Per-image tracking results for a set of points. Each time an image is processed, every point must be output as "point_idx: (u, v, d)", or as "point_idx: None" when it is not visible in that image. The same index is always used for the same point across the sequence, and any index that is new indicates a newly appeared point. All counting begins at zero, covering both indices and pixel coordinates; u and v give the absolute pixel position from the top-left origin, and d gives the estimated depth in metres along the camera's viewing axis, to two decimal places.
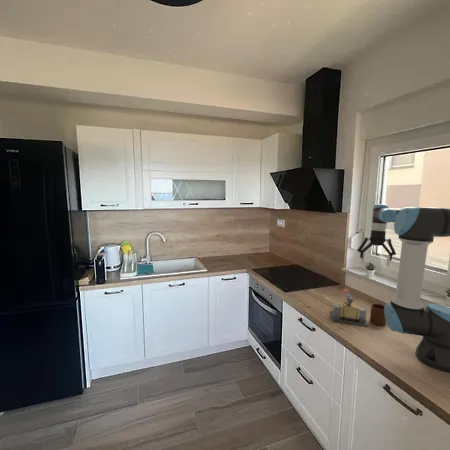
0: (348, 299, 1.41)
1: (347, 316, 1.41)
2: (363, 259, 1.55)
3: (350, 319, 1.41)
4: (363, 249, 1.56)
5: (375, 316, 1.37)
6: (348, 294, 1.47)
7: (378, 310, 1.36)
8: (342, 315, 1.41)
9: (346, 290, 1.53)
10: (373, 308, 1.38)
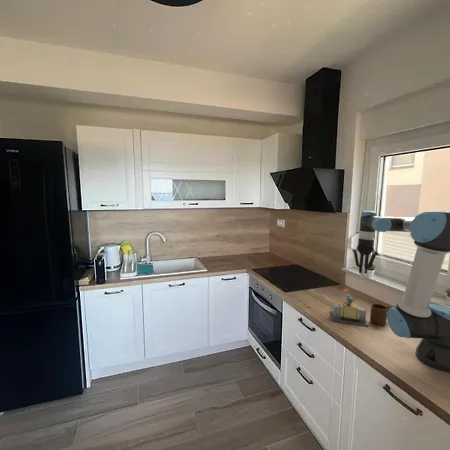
0: (348, 299, 1.41)
1: (347, 316, 1.41)
2: (362, 274, 1.45)
3: (350, 319, 1.41)
4: (360, 263, 1.46)
5: (375, 316, 1.37)
6: (348, 294, 1.47)
7: (378, 310, 1.36)
8: (342, 315, 1.41)
9: (346, 290, 1.53)
10: (373, 308, 1.38)
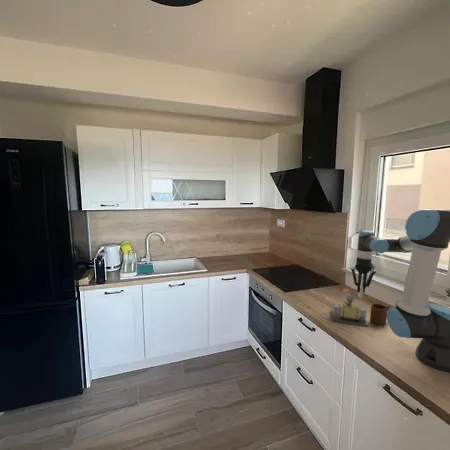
0: (348, 299, 1.41)
1: (347, 316, 1.41)
2: (360, 293, 1.47)
3: (350, 319, 1.41)
4: (358, 282, 1.47)
5: (375, 316, 1.37)
6: (348, 294, 1.47)
7: (378, 310, 1.36)
8: (342, 315, 1.41)
9: (346, 290, 1.53)
10: (373, 308, 1.38)
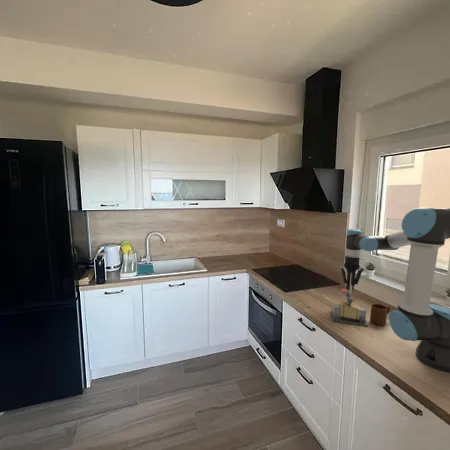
0: (348, 299, 1.41)
1: (347, 316, 1.41)
2: (350, 291, 1.49)
3: (350, 319, 1.41)
4: (347, 280, 1.49)
5: (375, 316, 1.37)
6: (347, 294, 1.47)
7: (378, 310, 1.36)
8: (342, 315, 1.41)
9: (344, 290, 1.53)
10: (373, 308, 1.38)
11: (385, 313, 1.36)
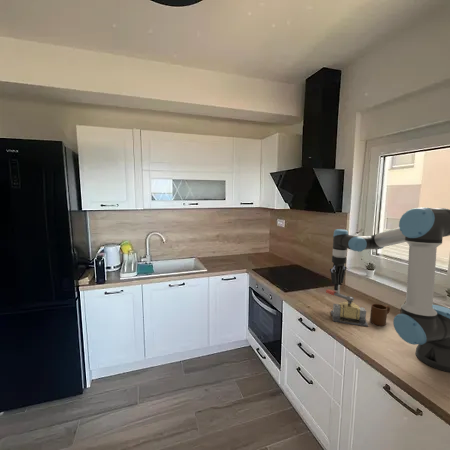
0: (351, 300, 1.40)
1: (347, 316, 1.41)
2: (338, 291, 1.49)
3: (350, 319, 1.41)
4: None
5: (375, 316, 1.37)
6: (341, 294, 1.46)
7: (378, 310, 1.36)
8: (342, 315, 1.41)
9: (331, 291, 1.51)
10: (373, 308, 1.38)
11: (385, 313, 1.36)
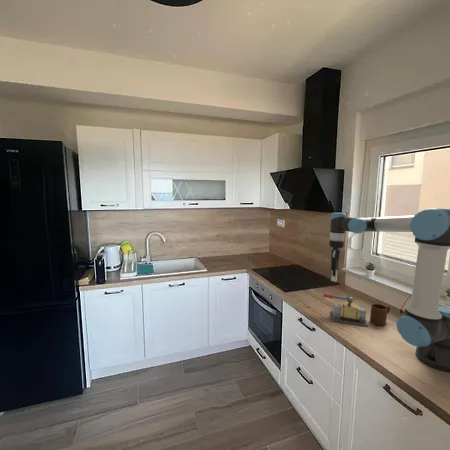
0: (353, 299, 1.41)
1: (347, 316, 1.41)
2: (336, 276, 1.45)
3: (350, 319, 1.41)
4: None
5: (375, 316, 1.37)
6: (339, 296, 1.44)
7: (378, 310, 1.36)
8: (342, 315, 1.41)
9: (328, 294, 1.46)
10: (373, 308, 1.38)
11: (385, 313, 1.36)
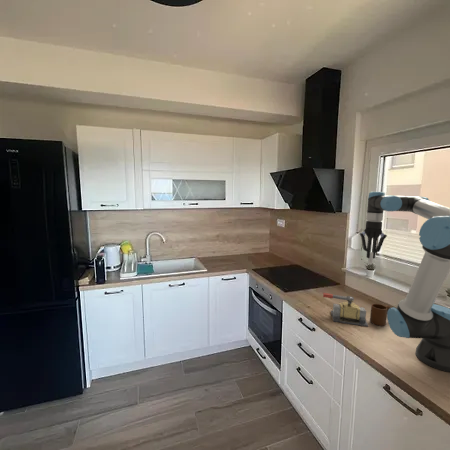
0: (353, 299, 1.41)
1: (347, 316, 1.41)
2: (370, 259, 1.38)
3: (350, 319, 1.41)
4: (367, 247, 1.38)
5: (375, 316, 1.37)
6: (339, 296, 1.44)
7: (378, 310, 1.36)
8: (342, 315, 1.41)
9: (328, 294, 1.46)
10: (373, 308, 1.38)
11: (385, 313, 1.36)
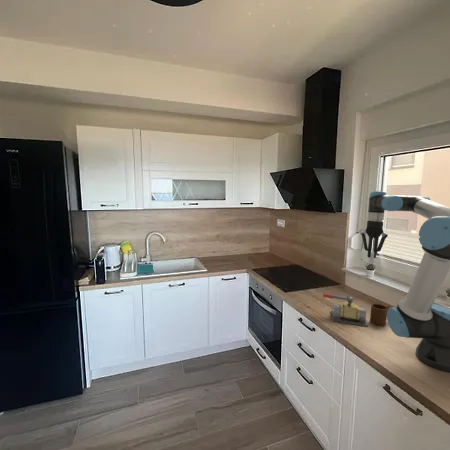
0: (353, 299, 1.41)
1: (347, 316, 1.41)
2: (371, 259, 1.38)
3: (350, 319, 1.41)
4: (368, 247, 1.38)
5: (375, 316, 1.37)
6: (339, 296, 1.44)
7: (378, 310, 1.36)
8: (342, 315, 1.41)
9: (328, 294, 1.46)
10: (373, 308, 1.38)
11: (385, 313, 1.36)
